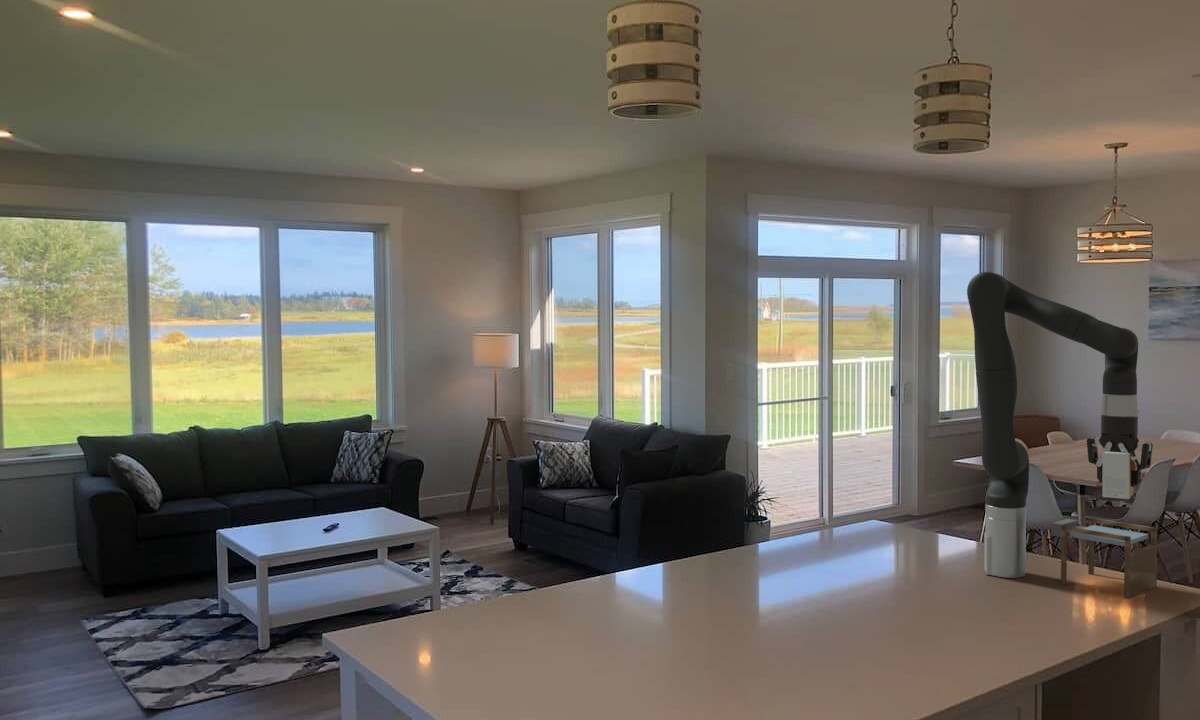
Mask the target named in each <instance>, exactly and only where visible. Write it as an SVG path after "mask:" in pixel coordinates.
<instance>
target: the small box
mask: <svg viewBox="0 0 1200 720" xmlns="http://www.w3.org/2000/svg"><path fill="white" fill-rule="evenodd" d="M1131 456H1132V453H1122V452H1111V451H1110V452H1104V453H1103V483H1102V498H1112V499H1120V500H1130V498H1131V497H1132V496H1134V489H1135V487H1131V471H1132V468H1131Z"/></svg>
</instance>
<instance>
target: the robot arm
mask: <svg viewBox="0 0 1200 720" xmlns="http://www.w3.org/2000/svg"><path fill="white" fill-rule="evenodd" d="M966 288H967V289H966V292H967V293H966V295H967V296H966V297H967V300H968V304H969V305H968V306H969V310H970V315H971V318H972V325H973V335H974V337H973V338H974V344H973V345H974V361H975V362H974V364H975V366H974V367H975V376H976V386H977V394H978V404H979V405H978V406H979V410H980V417H981V427H982V428H981V430H982V431H981V433H982V434H981V436H982V437H981V461H982V466H983V469H984V471H985V472H986V473H987V475H989V483H988V488H987V490H986V493H985V509H984V510H985V516H984V517H985V519H984V521H985V522H984V523H985V524H984V525H985V526H984V527H985V530H984V533H983V535H984V538H983V539H984V541H983V547H984V548H983V549H984V550H983V551H984V552H983V559H984V560H983V562H984V563H983V569H984V572H985V574H986V575H988V576H993V577H1000V578H1005V579H1006V578H1008V579H1009V578H1011V579H1013V578H1014V579H1015V578H1023V577H1024V576H1026V562H1027V561H1026V557H1027V556H1026V553H1027V552H1026V549H1027V548H1026V547H1027V546H1026V545H1027V543H1026V541H1027V540H1026V538H1027V536H1026V532H1027V528H1026V526H1027V524H1026V523H1027V518H1026V517H1027V497H1028V495H1029V480H1030V458H1029V454H1028V451H1027V449H1026V447H1025V446H1024V444H1022V443H1020V442H1019V441H1016V436H1015V430H1014V427H1015V426H1014V416H1015V410H1016V403H1017V397H1018V376H1017V374H1018V373H1017V366H1016V365H1017V364H1016V360H1015V356H1014V351H1013V348H1012V345H1011V340H1010V338H1009V334H1008V331H1007V326H1006V313H1007V314H1012V315H1014V316H1018V317H1019V318H1023V319H1025V320H1028V321H1029V322H1031V323H1034V324H1036V325H1037V326H1040V327H1041V328H1044V329H1046V330H1047V331H1049V332H1051V333H1054V334H1056V335H1058V336H1060V337H1064V338H1066V339H1068V340H1070V341H1073V342H1076V343H1079V344H1082V345H1086V347H1089V348H1091V349H1093V350H1095V351H1097V352H1099V353H1101V354H1104V372H1103V374H1102V396H1101V404H1100V434H1101V435H1100V437H1093V436H1092V437H1088V438H1087V439H1086V447H1087V460H1088V462H1089V464H1093V465H1095V466H1096V479H1097V480H1098V481H1099V483H1100V484H1101V483H1102V484H1103V453H1104V452H1110V451H1111V452H1122V453H1132V456H1131V468H1132V471H1131V487H1134V488H1136V487H1138V486H1139V485H1140V484H1141V480H1142V479H1141V477H1142V474H1141V473H1142V470H1145V469H1150V468H1151V466H1152V465H1151V463H1152V456H1153V455H1152V454H1153V447H1154V446H1153V443H1152V442H1143V441H1140V440H1139V439H1138V433H1139V432H1138V431H1139V430H1138V429H1139V426H1138V425H1139V424H1138V423H1139V403H1138V378H1137V366H1138V357H1139V340H1138V337H1137V335H1136V334H1135V332H1133V330H1131V329H1129V328H1125V327H1120V326H1118V325H1114V324H1112V323H1110V322H1109V323H1107V321H1106V322H1105V321H1102V320H1099V319H1098V318H1096V317H1095V316H1093V315H1091V314H1089V313H1086V312H1084V311H1080V310H1078V309H1075V308H1073V307H1070V306H1068V305H1065V304H1062V303H1058V302H1057V301H1054V300H1050V299H1047V298H1044V297H1041V296H1039V295H1036V294H1033V293H1031V292H1029V291H1027V290H1025V289H1023V288H1021V287H1020V286H1018V285H1016V284H1014V283H1012V282H1011V281H1009V280H1008V279H1006V278H1005V277H1004V276H1003V275H1001V274H999V273H995V272H991V271H982V272H979V273H977V274H975V275H974V276H973V277H972V278H971V279H970V280H969V282H968V285H967V287H966ZM1099 445H1101V447H1102V448H1103V449H1102V452H1101V453H1100V455H1099V453H1098V447H1099ZM1137 448H1139V451H1140V452H1141V454H1140V457H1141V458H1140V460H1139V456H1138V455H1137V453H1136V450H1137Z"/></svg>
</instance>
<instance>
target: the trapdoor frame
mask: <svg viewBox="0 0 1200 720" xmlns="http://www.w3.org/2000/svg"><path fill="white" fill-rule="evenodd" d="M1095 523H1096V524H1102V525H1108V526H1115V527H1121V528H1127V529H1133V530H1140V531H1145V532H1150V534H1151V535H1150V544H1149V545H1147V546H1146V545H1145V546H1144V547H1140V548H1139V549H1135V550H1133V551H1131V549H1132V548H1131V545H1132V544H1131V537H1129V536H1123V535H1117V534H1111V533H1105V532H1099V531H1093V530H1087V529H1081V528H1075V527H1069V526H1061V537H1060V539H1061V540H1060V585H1064V586H1066V585H1068V584H1067V580H1068V577H1067V574H1068V573H1067V566H1068V565H1067V562H1068V561H1067V558H1068V557H1067V556H1068V555H1067V554H1068V548H1067V546H1068V535H1067V531H1071V532H1077V533H1083V534H1089V535H1095V536H1100V537H1106V538H1112V539H1118V540H1124V541H1125V546H1124V568H1123V570H1124V571H1123V572H1124V573H1123V575H1124V576H1123V577H1124V578H1123V589H1124V590H1123V597H1124V599H1131V598H1134V597H1136V596H1138V595H1140V594H1143V593H1145V592H1148V591H1149V590H1150V591H1151V590H1152V589H1155V588H1157V583H1158V582H1157V579H1158V578H1157V576H1158V575H1157V574H1158V573H1157V571H1158V568H1157V567H1158V563H1157V562H1158V560H1157V559H1158V555H1157V554H1158V527H1154V526H1147V525H1141V524H1135V523H1129V522H1121V521H1116V520H1110V519H1109V520H1108V519H1103V518H1095V517H1089V518H1088V527H1089V526H1093V525H1095ZM1087 572H1088V575H1091V576H1092V575H1094V574H1095V541H1092V540H1088V571H1087Z"/></svg>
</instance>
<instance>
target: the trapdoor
mask: <svg viewBox="0 0 1200 720" xmlns="http://www.w3.org/2000/svg"><path fill="white" fill-rule="evenodd" d="M1061 526H1069V527H1075V528H1081V529H1087V530H1093V531H1099V532H1105V533H1111V534H1117V535H1123V536H1129V537H1131V545H1133V544H1136V543H1139V542H1141V541H1145V540H1148V539H1149V533H1144V532H1137V531H1131V530H1125V529H1120V528H1113V527H1107V526H1101V525H1095V524H1094V525H1093V526H1089V525H1088V526H1082V525H1078V520H1077V519H1072V518H1071V519H1070V518H1065V519H1061V520H1057V521H1054V522H1051V523H1050V536H1051V537H1059V538H1061ZM1067 536H1069V537H1070V538H1075V539H1082V540H1086V541H1087V540H1088V541H1089V540H1092V541H1094V542H1099V543H1104V544H1110V545H1116V546H1121V547H1125V541H1124V540H1118V539H1112V538H1106V537H1100V536H1095V535H1089V534H1083V533H1077V532H1071V531H1067Z"/></svg>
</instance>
